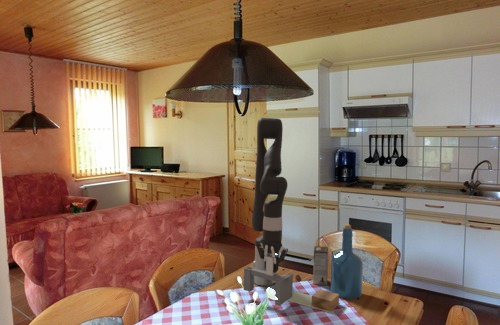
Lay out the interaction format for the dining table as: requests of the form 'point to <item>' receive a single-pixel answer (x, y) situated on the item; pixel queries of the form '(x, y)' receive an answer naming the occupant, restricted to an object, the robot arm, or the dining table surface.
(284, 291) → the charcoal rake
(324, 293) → the walnut block
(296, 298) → the sage mat
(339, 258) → the wine bottle
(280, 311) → the dining table surface
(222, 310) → the dining table surface
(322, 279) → the coffee box
